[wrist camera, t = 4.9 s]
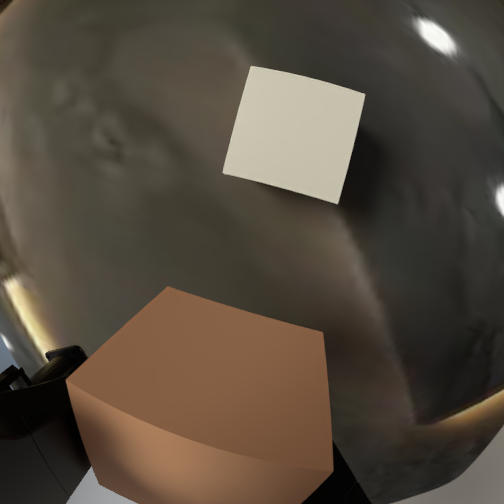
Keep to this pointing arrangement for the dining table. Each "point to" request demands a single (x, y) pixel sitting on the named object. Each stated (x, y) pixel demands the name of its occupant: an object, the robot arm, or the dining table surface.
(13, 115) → the dining table surface
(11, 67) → the dining table surface
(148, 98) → the dining table surface
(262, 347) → the terracotta cube
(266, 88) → the off-white cube
